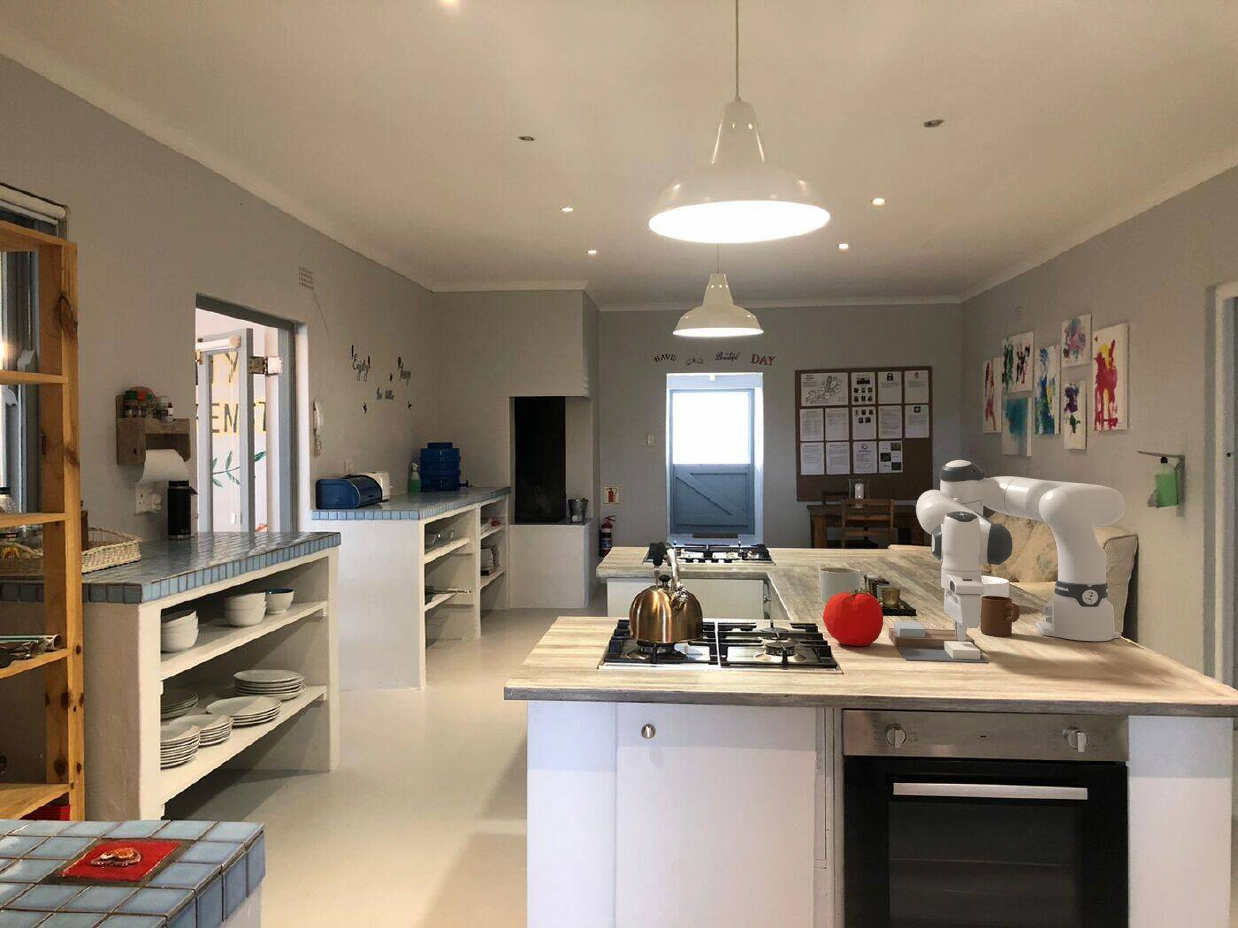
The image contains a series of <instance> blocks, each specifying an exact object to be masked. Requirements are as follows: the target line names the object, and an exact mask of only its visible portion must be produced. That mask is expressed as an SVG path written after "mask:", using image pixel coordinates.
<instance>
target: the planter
mask: <svg viewBox="0 0 1238 928" xmlns="http://www.w3.org/2000/svg"><path fill="white" fill-rule="evenodd" d="M861 572H862V571H861V570H860V569H857V568H852V567H843V566H842V567H841V566H840V567H839V566H835V567H834V566H833V567H821V568H819V570H818V577H819V578H818V580H819V590H820V591H819V592H820V598H821V600H822V602H824V603H825V605H826V604H827V603H828V601H829V600H830V598H832V597H833V596H834V595H837V594H840V593H843V592H846V591H850V592H851V591H854V590H855V589H857V590H858V592H859V591H861V590H860V588H861V576H862V575H861V574H862V573H861Z"/></svg>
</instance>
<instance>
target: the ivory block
mask: <svg viewBox="0 0 1238 928" xmlns="http://www.w3.org/2000/svg"><path fill="white" fill-rule="evenodd" d="M944 650H945V651H946V652H947V653H948V654H949V655H950V656H951V657H952V658H958V659H980V655H981V650H980V649H979V648H978V647H977V646H976V645H975V646H974V645H973V644H972V643H971V642H958V641H944Z"/></svg>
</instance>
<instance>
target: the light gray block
mask: <svg viewBox="0 0 1238 928" xmlns="http://www.w3.org/2000/svg"><path fill="white" fill-rule="evenodd" d="M893 628H894V630H895V631H896V632H897V634H898V635H899V636H900V637H925V629H926V628H925V627H924V626H923V625H922V624H921V623H920V622H919V621H908V620H907V621H905V620H904V621H899V620H894V621H893Z"/></svg>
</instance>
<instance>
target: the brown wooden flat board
mask: <svg viewBox="0 0 1238 928" xmlns="http://www.w3.org/2000/svg"><path fill="white" fill-rule="evenodd" d="M888 639H889V640H890V641H891V642H892V644H893V645H894V647H895V648H896V649H897V647H907V648H938V649H944V641H958V642H971V643H972V644H973V645H974V646H976V645H975V639H974V638H973V637H971V636H970V635H969V634H967V633H966V640H965V641H959V640H958V639H957V638H956V637H955V629H936V628H925V637H900V636H899V635H898V634H897V632H896V631H895V630H894V627H888Z"/></svg>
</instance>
